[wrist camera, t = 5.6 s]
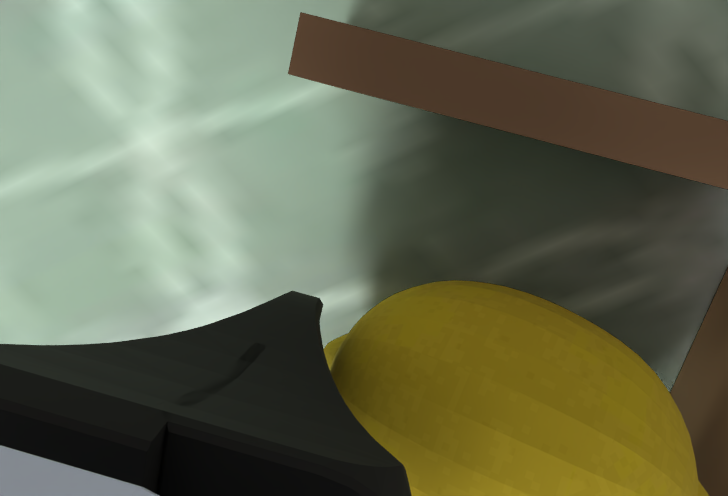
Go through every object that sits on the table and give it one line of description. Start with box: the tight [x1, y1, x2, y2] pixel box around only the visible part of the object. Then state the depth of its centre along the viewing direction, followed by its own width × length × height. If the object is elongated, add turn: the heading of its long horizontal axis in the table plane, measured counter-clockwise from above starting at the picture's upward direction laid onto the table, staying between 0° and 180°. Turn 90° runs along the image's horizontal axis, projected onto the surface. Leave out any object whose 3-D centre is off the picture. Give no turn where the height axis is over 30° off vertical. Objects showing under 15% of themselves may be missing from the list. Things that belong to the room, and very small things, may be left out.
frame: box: [288, 12, 728, 496], centre depth 12 cm, size 15×11×4 cm
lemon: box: [324, 280, 709, 496], centre depth 11 cm, size 6×6×8 cm
